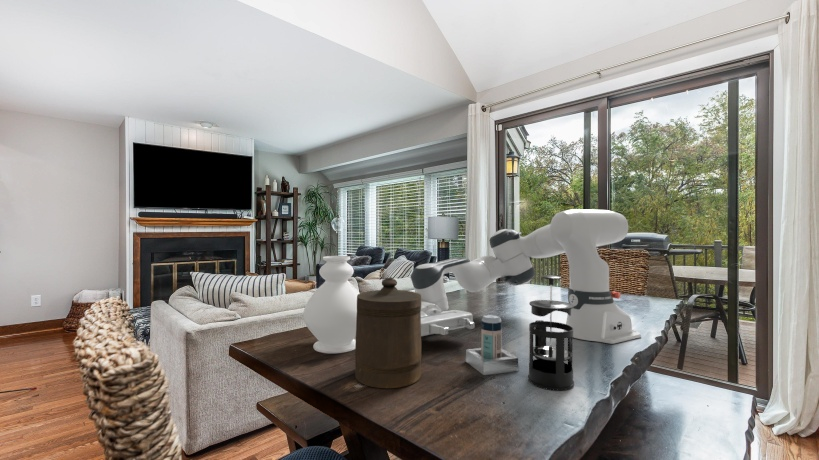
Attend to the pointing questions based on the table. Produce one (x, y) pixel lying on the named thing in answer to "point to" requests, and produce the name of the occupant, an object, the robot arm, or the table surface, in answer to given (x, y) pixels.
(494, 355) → the supplement bottle
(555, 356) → the french press
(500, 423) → the table surface
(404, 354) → the wooden container
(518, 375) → the table surface
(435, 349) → the table surface
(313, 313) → the decorative vase
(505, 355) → the light grey square box
